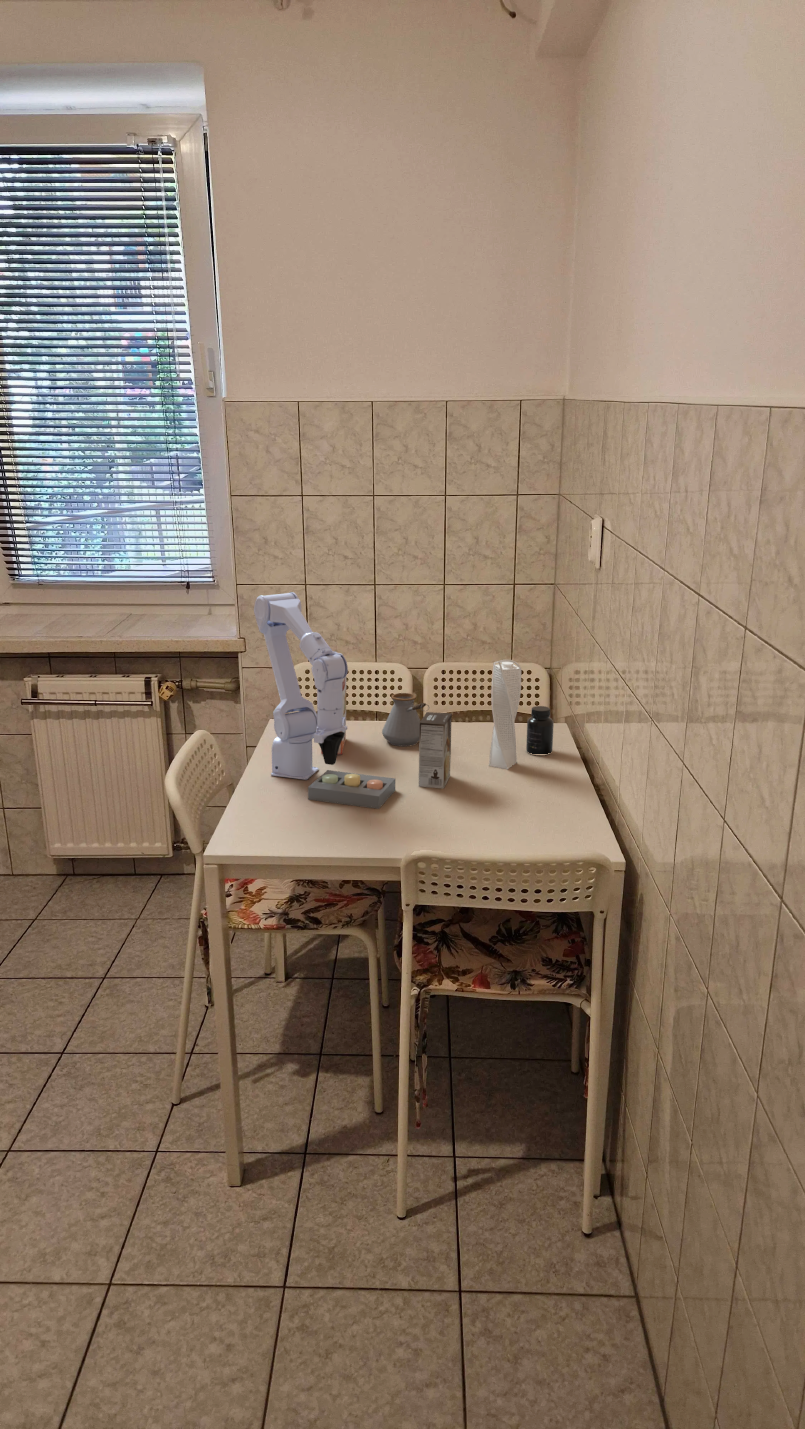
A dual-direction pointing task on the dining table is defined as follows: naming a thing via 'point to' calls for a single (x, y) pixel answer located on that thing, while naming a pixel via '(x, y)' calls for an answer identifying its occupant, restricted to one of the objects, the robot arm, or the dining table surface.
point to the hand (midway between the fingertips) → (330, 763)
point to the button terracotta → (375, 784)
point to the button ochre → (352, 780)
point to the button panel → (351, 791)
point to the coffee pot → (403, 721)
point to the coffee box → (435, 749)
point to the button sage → (330, 778)
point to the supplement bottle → (540, 731)
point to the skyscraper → (504, 712)
